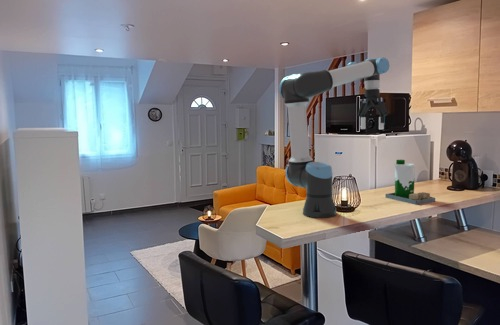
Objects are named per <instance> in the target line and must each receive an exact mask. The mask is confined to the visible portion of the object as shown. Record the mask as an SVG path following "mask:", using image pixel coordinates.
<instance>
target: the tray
mask: <svg viewBox="0 0 500 325" xmlns="http://www.w3.org/2000/svg"><path fill="white" fill-rule="evenodd" d="M385 198H386V199H390V200H395V201H398V202H403V203H408V204H411V205H414V206H417V205H423V204H428V203H434V202H436V197H435V196H430V198H429V199H423V200H417V201H416V200H411V199H407V198H403V197H398V196H395V192H390V193H385Z"/></svg>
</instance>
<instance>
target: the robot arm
mask: <svg viewBox="0 0 500 325" xmlns="http://www.w3.org/2000/svg"><path fill="white" fill-rule="evenodd" d="M389 69H390V61H389V60H388V59H387V58H386V57H378V58H376V57H375V58H367V59H365V60H363V61H350V62H349V63H347V65H346V66H343V67H338V68H335V69H330V70H327V69H323V70H317V71H307V72H306V71H304V72H303V71H302V72H300V73H293V74H290V75H287V76H285V77H283V79H281V81H280V83H279V86H278V91H279V96H280V97H281V98H282V99H283V101H284V103H283V104H284V106H286V107H287V113H288V127H289V140H290V141H289V142H290V143H289V144H290V153H291V154H290V155H291V157H290V158H289V159H288V164H287V166H286V168H285V170H284V171H285V178H286V180H287V182H288V183H289V184H291V185H292V186H295V187H298V188H302V189H306V197H305V201H304V205H303V207H302V214H303V215H304V216H305V215H306V217H308V216H310V217H309V218H315V217H316V218H319V219H320V218H323V219H325V218H332V217H334V216H336V215H337V207H336V205H335V201H334V199H333V169H332V165H330V164H329V163H326V162H320V161H314V159H313V157H311V155H310V147H309V146H310V145H309V133H308V129H309V128H308V118H307V114H308V113H307V105H308V104H309V103H310V98H314V97H315V96H317V95H321V94H324V93H326V92H329V91H331V90H332V89H333V88H335V87H338V86H342V85H346V84H349V83H352V82H356V81H359V80H363V79H364V89H365V90H364V97H365V98H362V99H361V101H360V102H361V103H360V106H359V109H358V111H357V114H356V115H357V117H359V120H360V122H359V123H360V130H366V125H367V124H366V122H367V121H366V120H367V118H366V114H367V113H368V112H369V109H370V108H374V109H375V110H376V112H377V113H378V115H379V117H378V130H384V129H385V117H386V116H388V115H389V112H388V110H387V107H386V105H385V102H384V101H385V100H384V97H380V95H381V92H380V91H381V90H380V87H381V86H380V85H381V84H380V83H381V80H380V78H381V77H380V75H383V74H386V73H387V72H389ZM316 218H315V219H316Z"/></svg>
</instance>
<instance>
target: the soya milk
mask: <svg viewBox="0 0 500 325" xmlns="http://www.w3.org/2000/svg"><path fill="white" fill-rule="evenodd" d="M405 162H406V160H405V159H396V163H395V164H394V193H395V196H398V197H403V198H407V199H409V194H412V193H414V192H415V170H416V169H415V168H416V167H415V165H416V164H415V163H408V162H406V163H405Z"/></svg>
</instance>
